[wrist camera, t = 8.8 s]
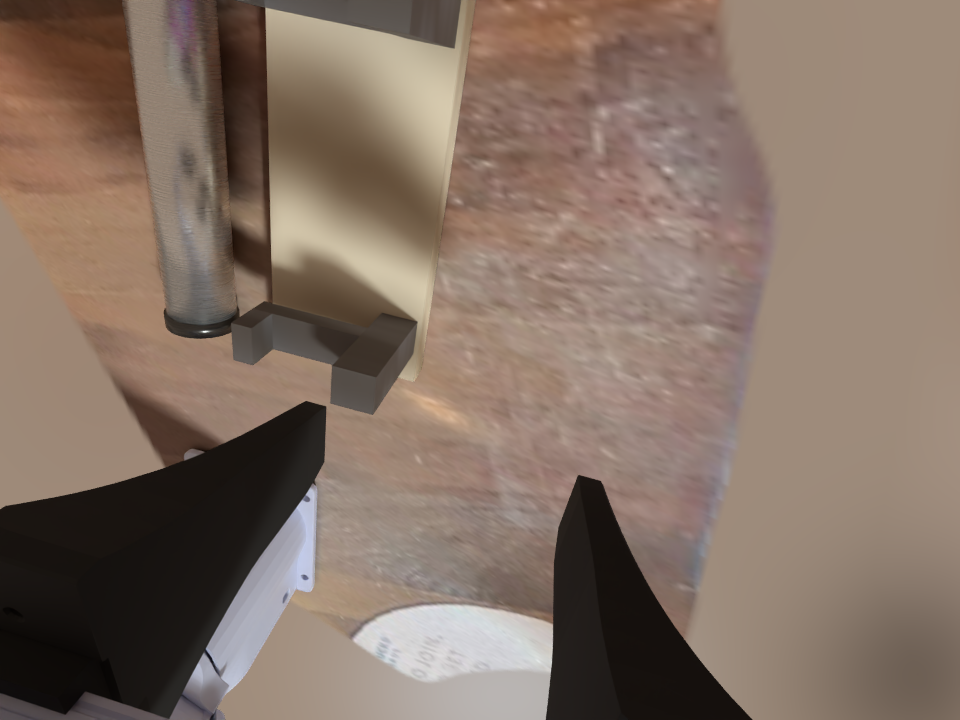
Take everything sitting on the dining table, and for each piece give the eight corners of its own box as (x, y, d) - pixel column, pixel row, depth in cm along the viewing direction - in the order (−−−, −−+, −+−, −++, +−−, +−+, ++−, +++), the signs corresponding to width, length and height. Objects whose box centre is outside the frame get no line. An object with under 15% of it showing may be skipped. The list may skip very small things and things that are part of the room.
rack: (421, 369, 24) (375, 446, 19) (286, 333, 24) (204, 399, 19) (484, -57, 16) (434, -129, 11) (283, -96, 16) (142, -182, 11)
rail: (254, 319, 24) (206, 345, 22) (201, 302, 25) (148, 325, 22) (234, -83, 17) (159, -117, 14) (159, -96, 17) (74, -131, 15)
